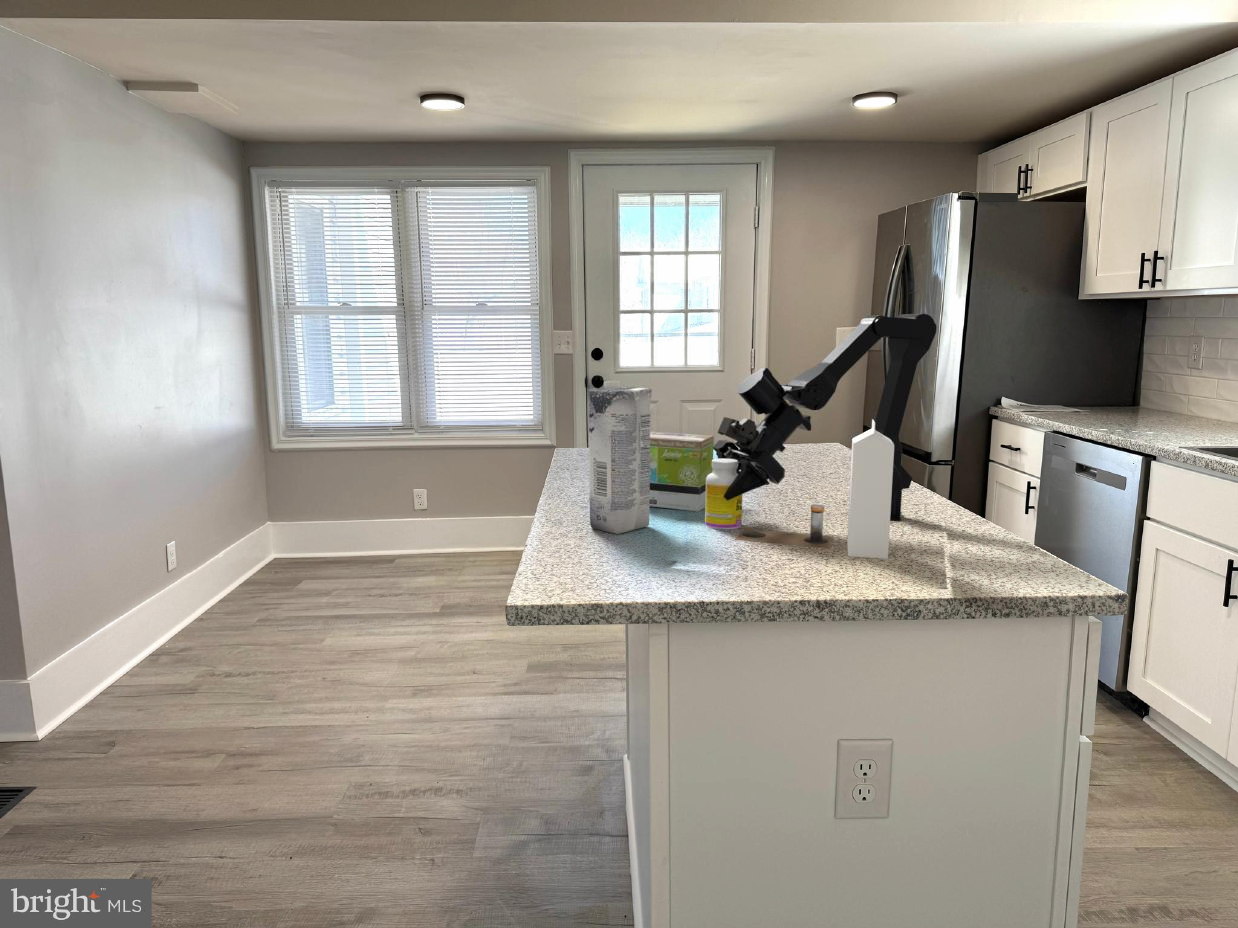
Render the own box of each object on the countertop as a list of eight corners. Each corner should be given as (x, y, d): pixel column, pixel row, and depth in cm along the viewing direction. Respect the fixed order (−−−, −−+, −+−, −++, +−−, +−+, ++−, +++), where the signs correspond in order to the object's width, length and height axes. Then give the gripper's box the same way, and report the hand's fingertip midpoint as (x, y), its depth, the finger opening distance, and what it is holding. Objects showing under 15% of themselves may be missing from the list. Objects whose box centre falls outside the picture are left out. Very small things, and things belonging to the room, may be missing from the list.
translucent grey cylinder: (823, 539, 135) (825, 504, 134) (821, 542, 133) (823, 507, 132) (810, 538, 136) (811, 503, 135) (808, 541, 134) (810, 506, 133)
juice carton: (656, 526, 149) (657, 380, 144) (618, 536, 141) (618, 383, 137) (621, 519, 155) (621, 378, 150) (582, 528, 147) (581, 381, 143)
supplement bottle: (740, 535, 142) (742, 463, 140) (703, 533, 144) (704, 462, 142) (742, 526, 149) (744, 458, 147) (706, 524, 150) (708, 457, 148)
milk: (847, 562, 126) (853, 422, 122) (846, 552, 131) (852, 418, 128) (888, 565, 124) (895, 423, 121) (885, 554, 130) (892, 419, 126)
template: (833, 541, 138) (834, 536, 138) (828, 553, 130) (828, 547, 130) (744, 533, 143) (744, 528, 143) (734, 544, 136) (734, 538, 136)
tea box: (630, 506, 166) (630, 435, 164) (646, 497, 175) (647, 430, 173) (699, 512, 161) (701, 439, 158) (713, 503, 170) (714, 433, 167)
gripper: (723, 397, 152) (668, 457, 151) (771, 406, 135) (710, 473, 133) (759, 437, 156) (706, 496, 155) (810, 450, 139) (751, 516, 137)
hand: (716, 494), depth 145 cm, fingers closed on supplement bottle, 7 cm apart
